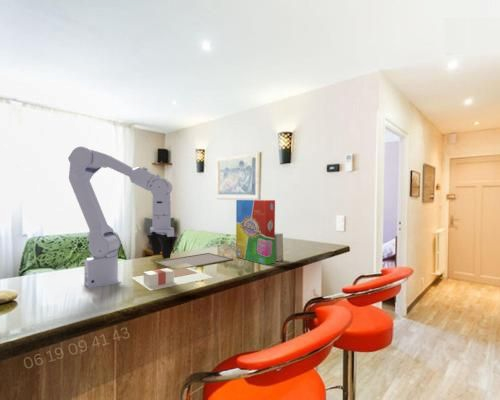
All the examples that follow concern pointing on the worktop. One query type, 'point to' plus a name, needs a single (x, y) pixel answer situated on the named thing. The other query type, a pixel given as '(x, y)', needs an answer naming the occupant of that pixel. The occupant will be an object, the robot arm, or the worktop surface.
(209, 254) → the picture frame
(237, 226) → the game box
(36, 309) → the worktop surface
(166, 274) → the card box
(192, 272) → the mat
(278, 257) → the skincare box
